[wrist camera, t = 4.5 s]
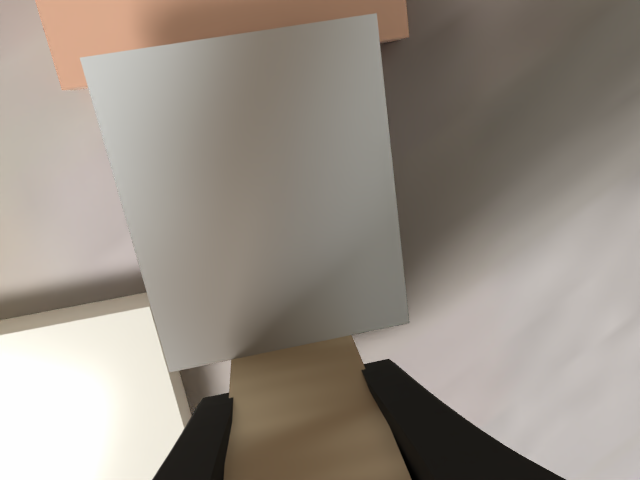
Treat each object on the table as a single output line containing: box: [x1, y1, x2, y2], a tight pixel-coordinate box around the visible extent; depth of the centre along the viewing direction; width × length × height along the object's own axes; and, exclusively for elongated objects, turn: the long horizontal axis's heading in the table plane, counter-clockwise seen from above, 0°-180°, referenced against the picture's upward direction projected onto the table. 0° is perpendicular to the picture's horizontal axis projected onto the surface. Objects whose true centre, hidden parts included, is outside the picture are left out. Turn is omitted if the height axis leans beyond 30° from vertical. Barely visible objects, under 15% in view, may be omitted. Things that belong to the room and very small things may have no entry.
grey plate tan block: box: [80, 13, 412, 480], centre depth 7 cm, size 5×8×6 cm, turn 9°
